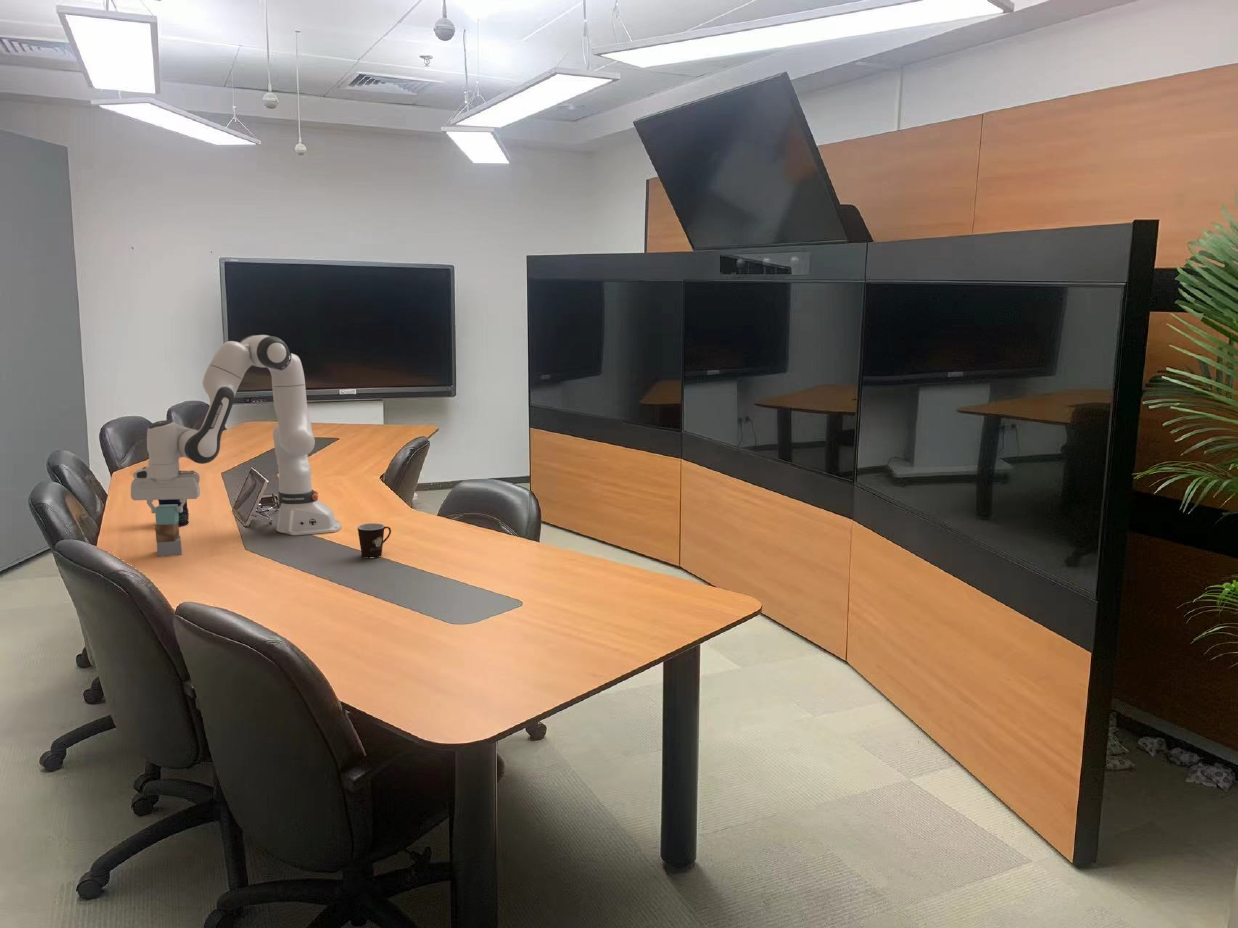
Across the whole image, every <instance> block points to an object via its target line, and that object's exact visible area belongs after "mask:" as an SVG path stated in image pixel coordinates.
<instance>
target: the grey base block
mask: <svg viewBox="0 0 1238 928" xmlns="http://www.w3.org/2000/svg"><path fill="white" fill-rule="evenodd" d="M156 550H157V558H162V557H161V556H164V557H171V556H170V555H175V556H182V552H183V551H182V539H181V535H180V534H179V538H178V539H177V540H175V541H169V542H156Z"/></svg>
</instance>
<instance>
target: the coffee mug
mask: <svg viewBox="0 0 1238 928" xmlns="http://www.w3.org/2000/svg"><path fill="white" fill-rule="evenodd" d="M386 529H387V530H388V535H387V536H386V538H384V536H385V535H384V534H385V530H386ZM357 533H358V539H359V547H360V552H361V553H360V554H361V557H362V558H363V557H368V558H370V557H378V558H380V557H379V556H381V555H382V556H383V546H384V543H385V542H386V541H388V539H389V538H390V536H391V534H392V529H391V527H389V526H385V525H384V524H382V523H377V522H374V523H372V522H371V523H362V524H359V525H358V526H357ZM382 556H381V557H382ZM368 558H367V559H368Z"/></svg>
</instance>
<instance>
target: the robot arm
mask: <svg viewBox="0 0 1238 928" xmlns="http://www.w3.org/2000/svg"><path fill="white" fill-rule="evenodd" d="M302 364H303V363H302V361H301V359H300V357H299V355H297V354H294V353H291V351H290V350H289V347H288V345H287V344H286V342H285V341H283V340H282V339H281V338H280V337H278V336H272V335H271V336H270V335H267V334H257V335H256V334H252V335H248V336H246V337H243V338H242V339H241V340H240V341H234V340H229V341H225V342H223V344H222V345H221V346H220V348H219V349H218V350H217V352H216V353H215V354H214V356H213V357H212V358H211V361H210V362H209V365H208V367H207V368H206V371H205V373H204V376H203V380H202V387H203V388H204V391H205V392H206V394H207V395H208V397H209V398H208V399H209V408H208V411H207V413H206V415H205V418H204V419H203V423H202V424H201V427H200V428H199V429H194V428H191V427H186V426H184V425H181V424H178V423H176V422H175V421H173V420H170V419H168V420H167V419H165V420H158V421H155V422H152V423H151V424H150V425H149V426H148V427H147V431H146V432H147V433H146V450H147V452H148V454H149V455H148V462H147V463H148V466H144V467H141V468H138V469H136V470H135V471H134V472H133V474H132V477H133V480H132V481H131V484H130V498H131V499H132V500H133V501H146V504H147V506H148V507H149V509H151V514H155V508H156V507H157V506H155V505H154V504H153V502H154V501H158V500H171V499H180V502H182V503H181V505H180V506H178V507H177V513H181V512H183V505H184V504H185V502H186V499H187V500H196V499H198V498H199V497H200V496H201V487H200V482H201V479H200V474H199V473H198V472H197V471H195V470H180V459H181V458H186V459H189V460H191V461H192V462H194V463H196V464H201V465H203V464H209V463H212V462H213V461H214V460H215V459H216V458H217V457H218V455H219V454H220V450H221V439H222V435H223V432H224V429H225V427H226V424H227V421H228V418H229V417H230V413H231V411H232V408H233V405H234V400H235V397H236V393H237V391H238V389H239V388H240V387H239V386H240V384H242V381H243V378H244V376H245V374H246V372H247V370H249V368H251V367H253V366H254V367H257V368H264V369H265V368H267V369H268V370H269V372H270V375H271V387H272V396H273V397H272V398H273V408H274V412H275V415H276V418H277V423H278V424H276V425H275V427H274V428H273V431H272V439H273V445H274V452H275V460H276V465H277V470H278V471H277V472H278V488H279V490H278V493H277V502H278V504H277V505H278V507H279V509H278V510H279V511H278V512H279V513H278V519H277V520H278V521H277V525H276V529H275V530H276V531H277V532H279V533H282V534H287V535H290V536H302V535H304V536H305V535H312V534H313V535H315V534H327V533H330V534H331V533H336V532H338V531H339V530H340V529H342V522H341V521H339V520H337V519H336V517H335V514H334V511H333V509H332V508H331V507H329V506H327V504H324V503H323V502H322V501H320V500H319V495H318V494H319V492H318V491H317V490H314V489H312V468H311V465H310V461H309V456H308V455H309V454H311V452H312V451H313V450H314V448H315V444H316V440H315V435H314V432H313V426H312V422H311V417H310V413H309V408H308V407H309V406H308V401H307V388H306V381H305V380H306V379H305V373H304V368H303V365H302Z"/></svg>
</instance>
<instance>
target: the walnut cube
mask: <svg viewBox="0 0 1238 928" xmlns="http://www.w3.org/2000/svg"><path fill="white" fill-rule="evenodd" d="M179 528H180V527H179V525H178V522H177V523H176V524H175V525H156V524H155V525H154V530H155V541H156V543H157V542H169V541H175V540H177V539H178V538H179V535H180V529H179Z"/></svg>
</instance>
